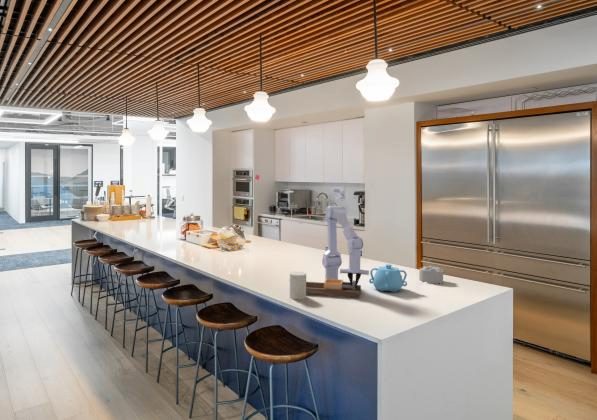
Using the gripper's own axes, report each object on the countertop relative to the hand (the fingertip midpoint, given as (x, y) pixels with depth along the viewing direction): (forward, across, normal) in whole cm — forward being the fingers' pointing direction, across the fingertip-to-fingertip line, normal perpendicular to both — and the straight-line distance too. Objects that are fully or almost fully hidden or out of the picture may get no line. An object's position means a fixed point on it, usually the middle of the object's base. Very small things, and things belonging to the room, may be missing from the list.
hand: (354, 287), depth 217 cm
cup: (+4, -27, -12) cm, 30 cm away
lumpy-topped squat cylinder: (+4, +42, +38) cm, 57 cm away
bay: (+3, -14, 0) cm, 14 cm away
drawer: (+2, -7, 0) cm, 8 cm away
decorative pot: (+4, +17, +14) cm, 22 cm away
